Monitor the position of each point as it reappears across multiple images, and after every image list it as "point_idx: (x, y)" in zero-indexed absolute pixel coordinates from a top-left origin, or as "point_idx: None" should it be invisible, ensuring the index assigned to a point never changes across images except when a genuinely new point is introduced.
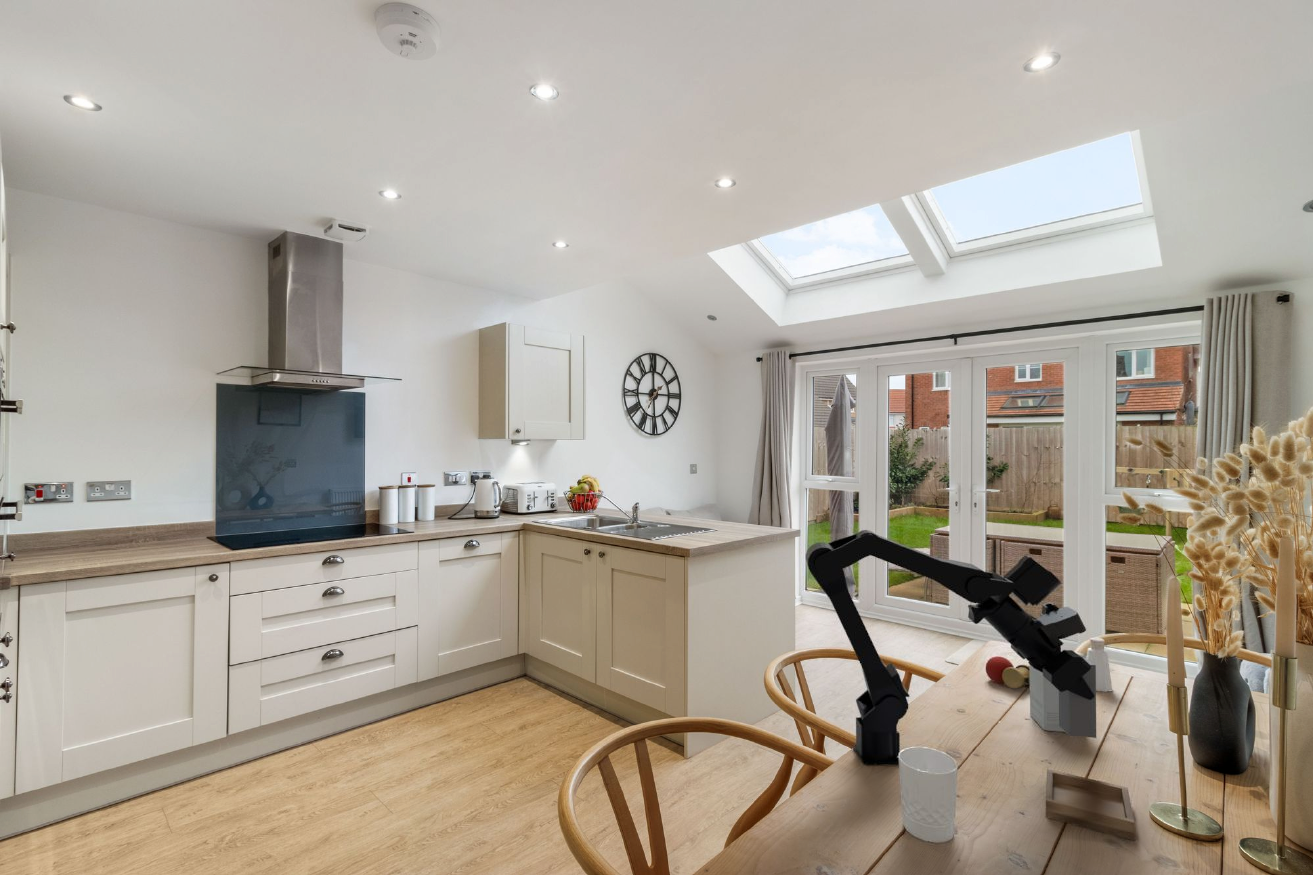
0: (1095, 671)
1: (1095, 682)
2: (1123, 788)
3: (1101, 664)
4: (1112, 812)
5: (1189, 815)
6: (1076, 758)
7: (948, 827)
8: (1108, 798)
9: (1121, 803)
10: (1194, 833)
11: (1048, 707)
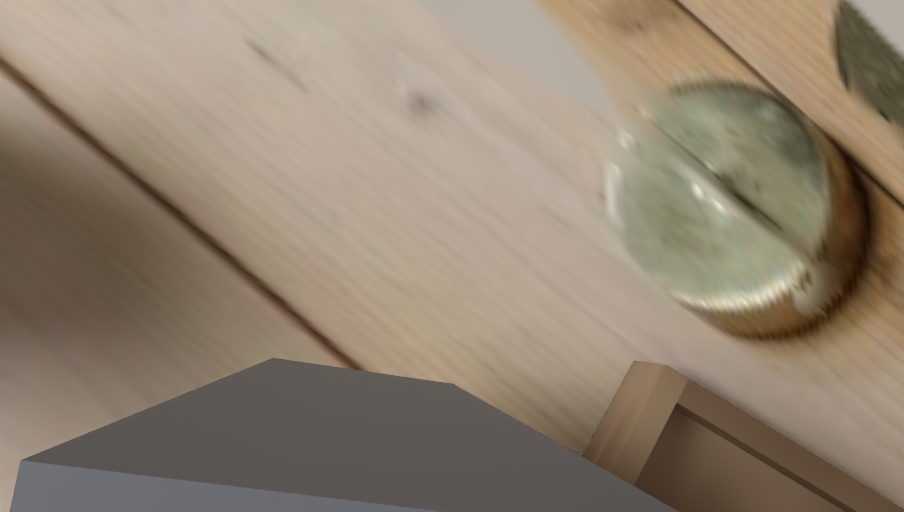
0: (658, 505)
1: (578, 460)
2: (674, 392)
3: None
4: None
5: (705, 157)
6: (195, 334)
7: None
8: (661, 464)
9: (697, 428)
10: (825, 238)
11: None
